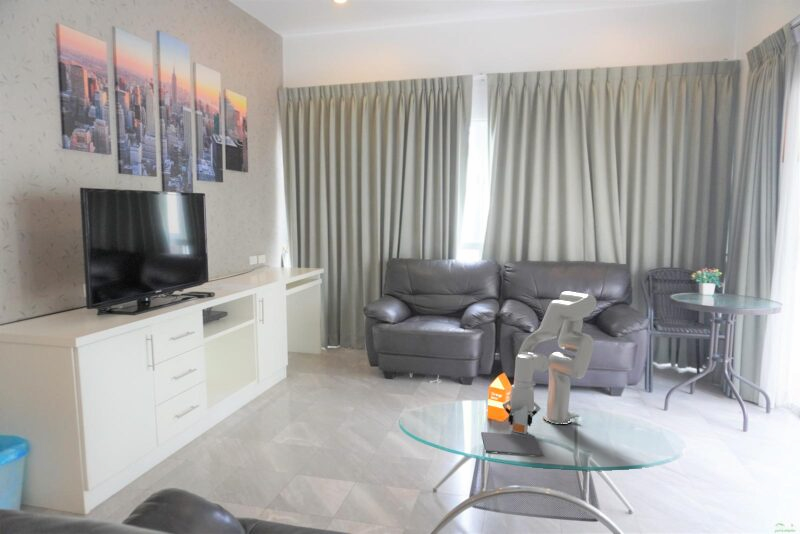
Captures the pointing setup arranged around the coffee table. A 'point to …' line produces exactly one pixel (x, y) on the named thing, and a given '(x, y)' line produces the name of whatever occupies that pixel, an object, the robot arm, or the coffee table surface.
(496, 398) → the orange juice
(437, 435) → the coffee table surface
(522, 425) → the skincare box
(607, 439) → the coffee table surface
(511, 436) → the mat
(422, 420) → the coffee table surface
